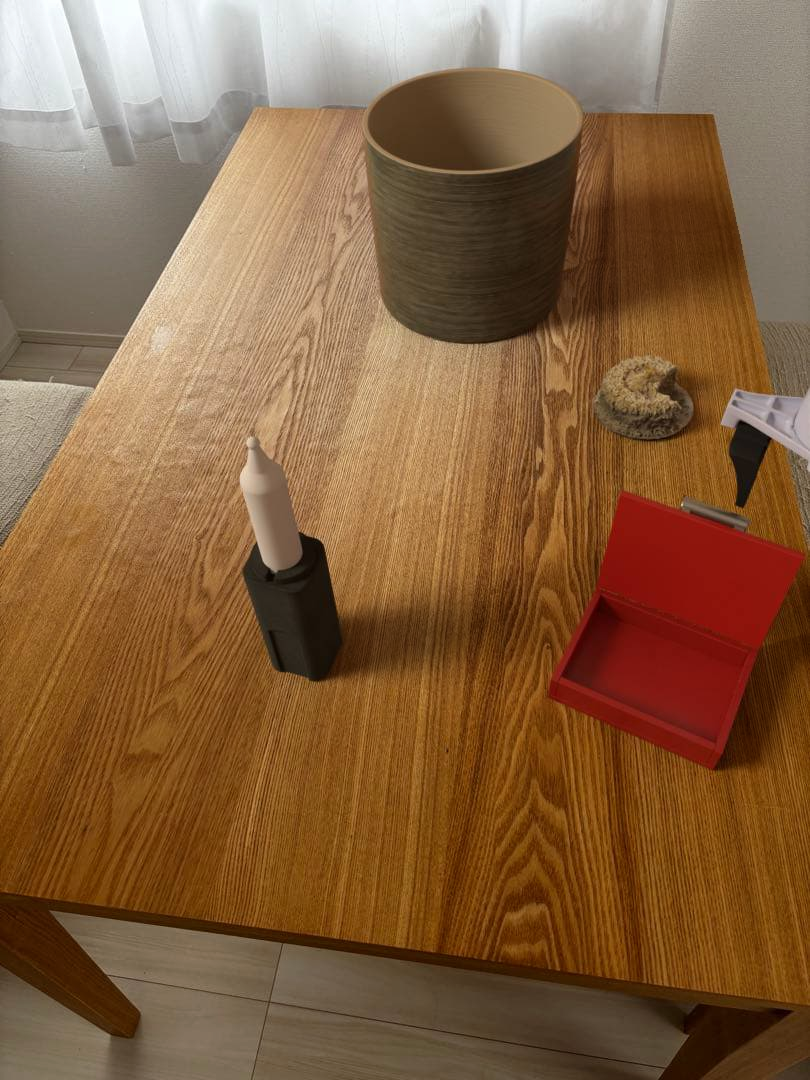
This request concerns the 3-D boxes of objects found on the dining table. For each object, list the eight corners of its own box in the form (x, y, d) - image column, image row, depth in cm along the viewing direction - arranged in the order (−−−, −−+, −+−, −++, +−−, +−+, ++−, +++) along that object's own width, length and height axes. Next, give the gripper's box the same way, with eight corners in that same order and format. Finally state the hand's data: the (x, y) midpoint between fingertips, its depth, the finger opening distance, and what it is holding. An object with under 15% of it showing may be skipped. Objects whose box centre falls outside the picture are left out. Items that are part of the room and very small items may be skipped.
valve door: (804, 558, 59) (815, 521, 62) (619, 494, 64) (637, 462, 66) (759, 650, 67) (771, 613, 69) (596, 586, 71) (613, 554, 74)
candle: (346, 634, 73) (306, 418, 54) (324, 685, 70) (272, 476, 51) (292, 619, 74) (233, 402, 55) (267, 668, 72) (195, 458, 52)
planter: (356, 255, 108) (339, 88, 92) (524, 220, 111) (535, 53, 95) (406, 365, 94) (395, 192, 79) (595, 322, 97) (621, 147, 82)
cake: (598, 447, 86) (600, 407, 82) (588, 381, 92) (589, 340, 88) (701, 440, 85) (709, 399, 81) (684, 373, 91) (690, 332, 87)
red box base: (712, 771, 64) (722, 753, 62) (547, 697, 69) (550, 679, 66) (748, 669, 69) (758, 649, 67) (592, 607, 74) (596, 586, 71)
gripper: (732, 385, 55) (683, 517, 66) (979, 463, 50) (882, 592, 61) (762, 320, 59) (710, 456, 69) (995, 389, 54) (901, 522, 65)
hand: (793, 516), depth 66 cm, fingers open, 7 cm apart
